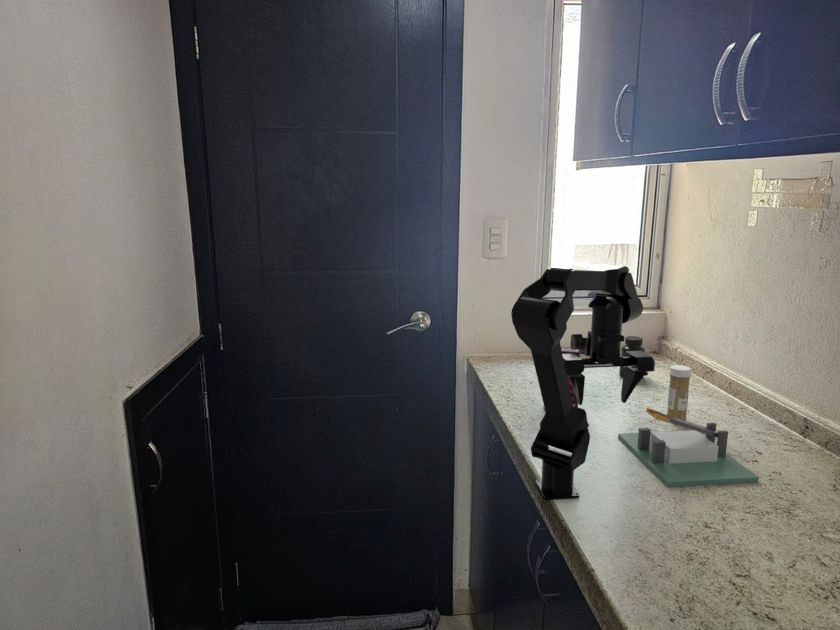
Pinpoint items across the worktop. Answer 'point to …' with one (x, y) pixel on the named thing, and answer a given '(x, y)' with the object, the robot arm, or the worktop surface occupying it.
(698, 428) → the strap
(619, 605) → the worktop surface
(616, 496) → the worktop surface
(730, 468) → the board
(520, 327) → the robot arm
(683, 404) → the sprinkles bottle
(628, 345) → the supplement bottle
